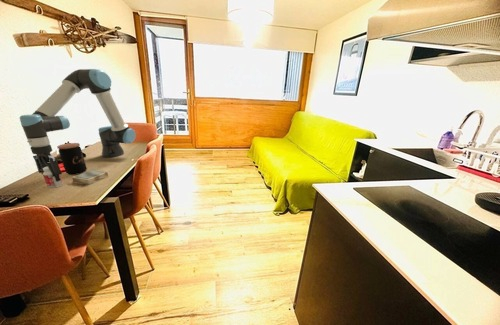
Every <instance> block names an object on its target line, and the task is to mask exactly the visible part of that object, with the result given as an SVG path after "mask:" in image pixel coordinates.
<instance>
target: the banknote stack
mask: <svg viewBox="0 0 500 325" xmlns="http://www.w3.org/2000/svg"><path fill="white" fill-rule="evenodd" d="M108 177H109V173H108V171H102V170H96V169H92V170H88V171H85V172H83V173H79V174H76V175H73V176H71V179H72V182H73V183H76V184H82V185H87V186H90V185H92V184H94V183H97V182H99V181H101V180H104V179H106V178H108Z"/></svg>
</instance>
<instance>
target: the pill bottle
mask: <svg viewBox="0 0 500 325" xmlns="http://www.w3.org/2000/svg"><path fill="white" fill-rule="evenodd" d="M43 171H44V172H43V174H42V176H43V179H44V182H45V184H46V187H47V188H48V189H53V188H57V187H56V186H55V183H54V180H53V177H52V176H53V174H52V173H51V171H50V169H49V168H48V166H47V167H44V168H43ZM59 177H60V180H61V182H62V183H63V181H62V178H61V174H60V175H59Z"/></svg>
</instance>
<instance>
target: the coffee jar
mask: <svg viewBox="0 0 500 325" xmlns="http://www.w3.org/2000/svg"><path fill="white" fill-rule="evenodd" d="M57 149H58V154H59V155H60V156H59V157H60V159H61V163H62V165H63V169H64V171H65V173H66V174H67V175H71V176H72V175H73V176H75V175H80V174H82V173H85V172H87V170H88V168H87V165H86V160H85V158H84V155H83V152H82V151H83V150H82V148H81V146H80V143H79V142H70V143H64V144H63V143H62V144H59V145H57Z"/></svg>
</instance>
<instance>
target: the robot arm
mask: <svg viewBox="0 0 500 325" xmlns="http://www.w3.org/2000/svg"><path fill="white" fill-rule="evenodd" d="M61 83H62V84H60V86H59V87H58V88H57V89H55V91H53V93H52V94H51V95H50V96H49V97H48V98H47V99H46V100H44V102H43V103H42V104H41V105H40V106H39V107H38V108H37V109H36V110H35V111H34V112H33V113H32V114H23V115H22V114H21V115H20V117H19V121H20V125H21V127H22V129H23V132H24V135H25V137H26V140H27V141H26V142H27V143H28V144H29V146H30V150H31V154H33V156H32V158H33V159H34V161H35V165H36V168H37V170H38V173H40V174H41V175H43V172H44V171H43V168H44V167H47V166H48V168H49V169H50V171H51V173H52V174H53V176H52V177H53V180H54V183H55V186H56V187H55V188H59V187H61V186H63V181H62V179H61V180H60V178H61V175H62V174H63V172H62V170H61V168H60V165H59V163H58V160H57V157H56V156H53V155H52V154H51V152H52V151H53V148H52V145H51V141H50V139H49V135H48V133H49V132H57V131H63V130H66V129H67V130H68V129H69V128H70V125H71V123H70V120H69V118H67V116H64V115H57V114H58V113H59V112H60V111H61V110H62V109H63V108H64V107H65V106H66V104H68V103H69V101H70V100H71V99H72V98H73V97H74V96H75V95H76V94H77V93H78V94H79V93H81V91H82V90H85V89H88V90H89V91H90V94H91V95H94V96H95V97H96V99H97V101H98V103H99V104H100V106H101V108H102V110H103V112H104V114H105V116H106V118H107V119H108V121H109V124H110V125H108V126H103V127H99V128H98V135H99V139H100V142H101V146H102V149H101V157H102V158H115V157H120V156H123V155H124V154H125V152H124V151H125V150H124V149H123V147H122V146H121V144H132V143H133V142H134V141H135V139H136V131H135V129H133V128H132V127H131V128H130V127H129V125H128V123H126V122H125V121H124V119H123V117H122V115H121V112H120V110H119V108H118V107H117V105H116V102H115V100H114V98H113V96H112V94H111V90H112V88H111V87H112V79H111V77H110V75H109V74H108V73H107V72H106V71H104V70H102V69H99V68H98V69H97V68H88V69H87V68H86V69H85V68H83V69H82V68H81V69H77V70H74V71H72V72H71V73H69V74H68V75H67V76H66V77H65V78H64V79H63V80H61ZM59 175H60V177H59ZM61 181H62V182H61Z"/></svg>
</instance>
